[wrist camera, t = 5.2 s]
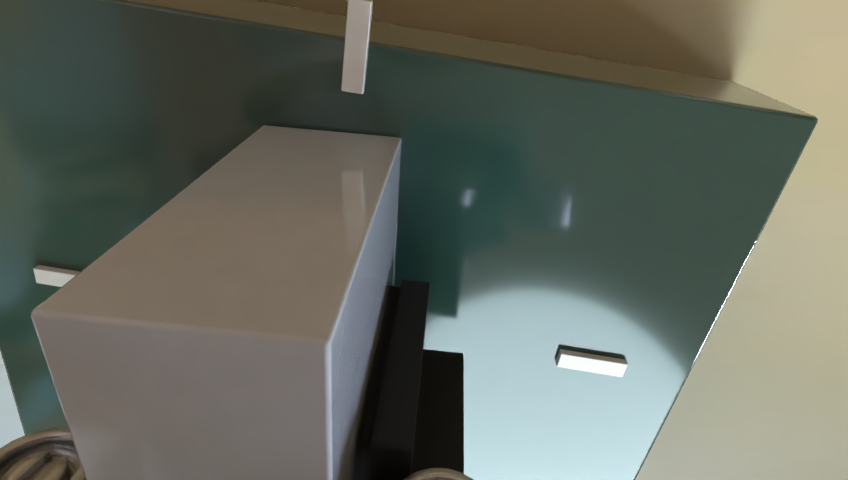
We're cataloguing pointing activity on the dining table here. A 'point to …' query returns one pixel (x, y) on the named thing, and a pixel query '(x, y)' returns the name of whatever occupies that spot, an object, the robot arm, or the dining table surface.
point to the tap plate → (413, 195)
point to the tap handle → (234, 317)
